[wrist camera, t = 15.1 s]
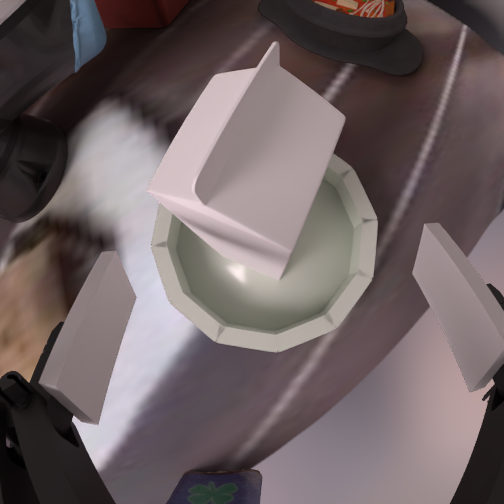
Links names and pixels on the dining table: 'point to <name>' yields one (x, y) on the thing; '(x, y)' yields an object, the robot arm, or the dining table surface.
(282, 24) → the casserole
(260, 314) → the bowl
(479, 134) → the dining table surface
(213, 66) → the dining table surface
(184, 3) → the plant pot
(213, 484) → the flask
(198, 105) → the milk
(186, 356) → the dining table surface
